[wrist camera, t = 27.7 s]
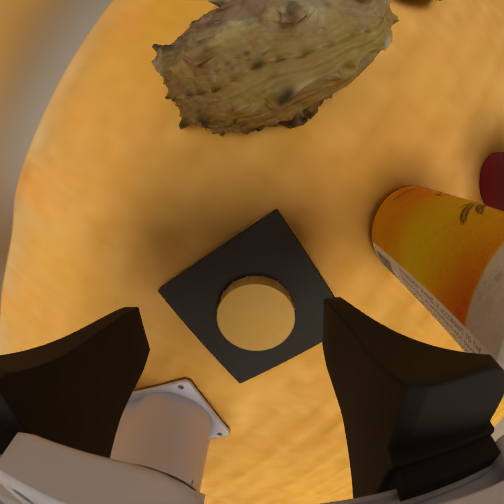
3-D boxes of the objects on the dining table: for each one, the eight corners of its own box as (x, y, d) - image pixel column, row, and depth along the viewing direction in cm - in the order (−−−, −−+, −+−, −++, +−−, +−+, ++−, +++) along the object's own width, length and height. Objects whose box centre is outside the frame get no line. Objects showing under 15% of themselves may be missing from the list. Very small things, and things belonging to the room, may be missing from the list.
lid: (294, 273, 20) (296, 282, 18) (293, 339, 21) (294, 350, 20) (216, 275, 20) (212, 284, 19) (222, 340, 22) (220, 351, 20)
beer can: (453, 227, 19) (608, 318, 5) (401, 285, 20) (521, 432, 6) (408, 166, 18) (603, 209, 3) (350, 229, 19) (493, 377, 5)
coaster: (240, 379, 23) (239, 383, 23) (159, 287, 21) (157, 291, 21) (349, 321, 21) (351, 325, 21) (276, 208, 19) (277, 210, 19)
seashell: (381, 29, 16) (446, -43, 6) (288, 190, 18) (326, 190, 9) (249, -33, 15) (246, -123, 5) (140, 112, 17) (52, 61, 8)
